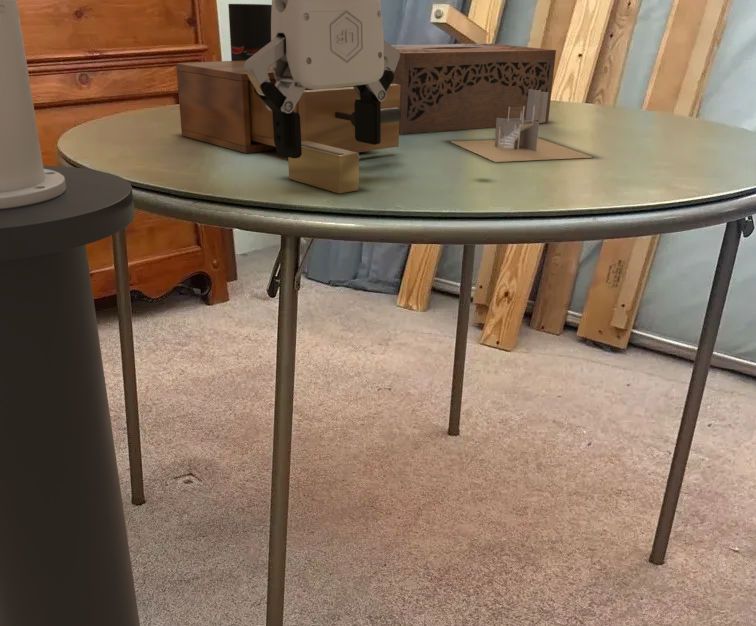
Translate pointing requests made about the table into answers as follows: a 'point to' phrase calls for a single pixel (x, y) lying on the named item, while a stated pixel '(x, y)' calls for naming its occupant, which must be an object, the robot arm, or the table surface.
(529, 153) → the architectural model
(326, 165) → the tan block with strip
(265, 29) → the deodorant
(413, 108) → the tissue box cover
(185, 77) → the cabinet
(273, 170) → the table surface
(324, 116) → the drawer
